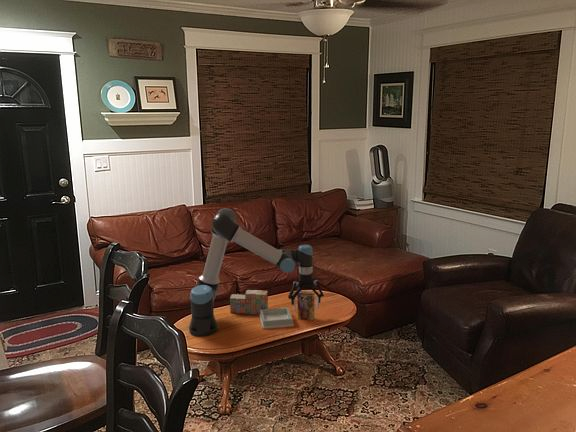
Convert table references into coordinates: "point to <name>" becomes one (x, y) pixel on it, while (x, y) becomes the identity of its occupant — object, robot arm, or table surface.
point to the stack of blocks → (249, 302)
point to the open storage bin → (275, 318)
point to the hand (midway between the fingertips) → (306, 309)
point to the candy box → (305, 305)
